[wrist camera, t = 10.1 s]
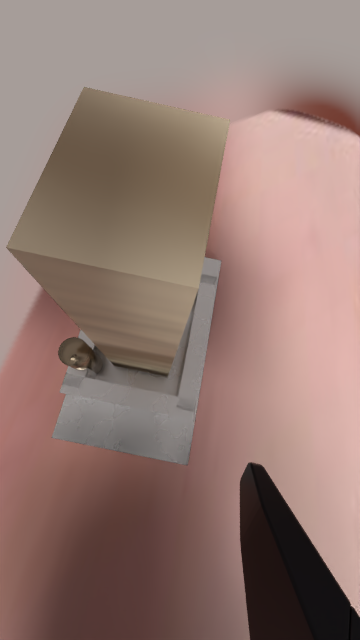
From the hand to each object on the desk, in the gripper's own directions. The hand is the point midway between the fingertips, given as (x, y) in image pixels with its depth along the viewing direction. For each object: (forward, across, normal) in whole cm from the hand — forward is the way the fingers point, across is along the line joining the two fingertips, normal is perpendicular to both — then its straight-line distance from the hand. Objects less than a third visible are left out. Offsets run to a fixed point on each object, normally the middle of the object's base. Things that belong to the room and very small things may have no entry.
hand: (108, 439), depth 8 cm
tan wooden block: (+10, 0, +2) cm, 10 cm away
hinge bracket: (+10, 0, +2) cm, 11 cm away
